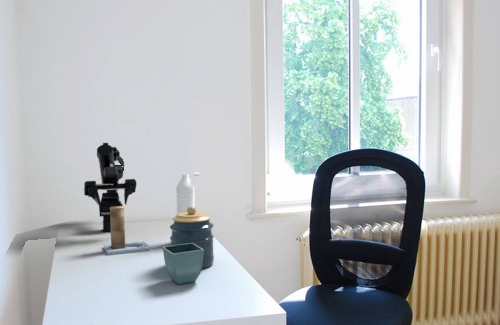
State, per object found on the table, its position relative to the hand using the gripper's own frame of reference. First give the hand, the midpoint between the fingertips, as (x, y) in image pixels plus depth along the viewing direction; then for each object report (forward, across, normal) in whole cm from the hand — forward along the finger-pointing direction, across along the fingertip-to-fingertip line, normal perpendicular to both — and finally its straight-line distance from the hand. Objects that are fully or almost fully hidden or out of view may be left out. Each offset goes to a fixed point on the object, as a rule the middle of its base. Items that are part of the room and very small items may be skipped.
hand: (113, 204), depth 173 cm
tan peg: (+20, -1, -1) cm, 20 cm away
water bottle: (+19, +25, 0) cm, 31 cm away
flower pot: (+50, +10, -31) cm, 60 cm away
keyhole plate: (+20, +2, -1) cm, 20 cm away
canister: (+40, +17, -21) cm, 48 cm away
